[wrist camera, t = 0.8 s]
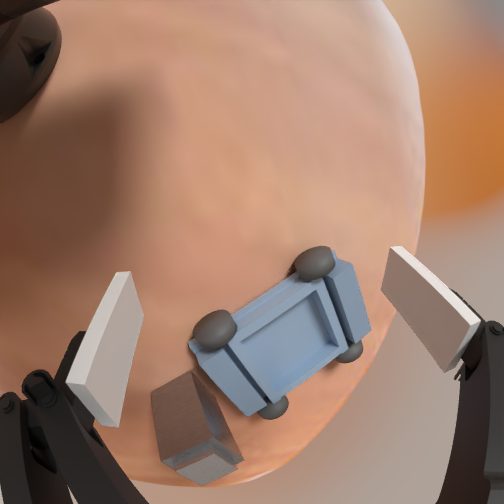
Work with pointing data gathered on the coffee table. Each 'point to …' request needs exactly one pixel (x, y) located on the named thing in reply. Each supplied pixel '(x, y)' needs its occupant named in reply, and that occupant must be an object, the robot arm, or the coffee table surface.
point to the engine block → (193, 431)
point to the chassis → (284, 334)
